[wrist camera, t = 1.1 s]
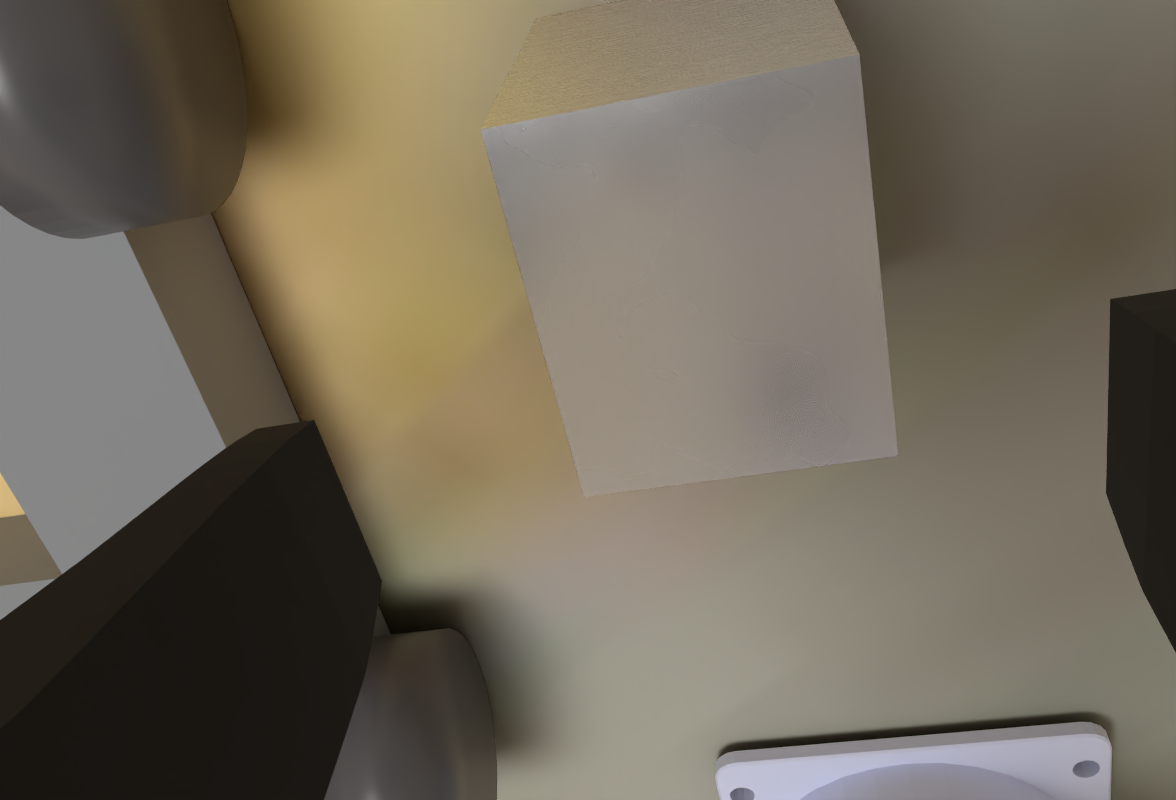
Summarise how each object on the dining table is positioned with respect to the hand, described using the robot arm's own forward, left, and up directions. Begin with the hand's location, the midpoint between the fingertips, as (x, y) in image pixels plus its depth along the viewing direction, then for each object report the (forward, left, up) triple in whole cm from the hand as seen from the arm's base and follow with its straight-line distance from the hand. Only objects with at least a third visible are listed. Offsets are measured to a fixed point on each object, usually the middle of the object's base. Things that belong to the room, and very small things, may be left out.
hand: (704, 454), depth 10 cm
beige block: (0, 0, -8) cm, 8 cm away
